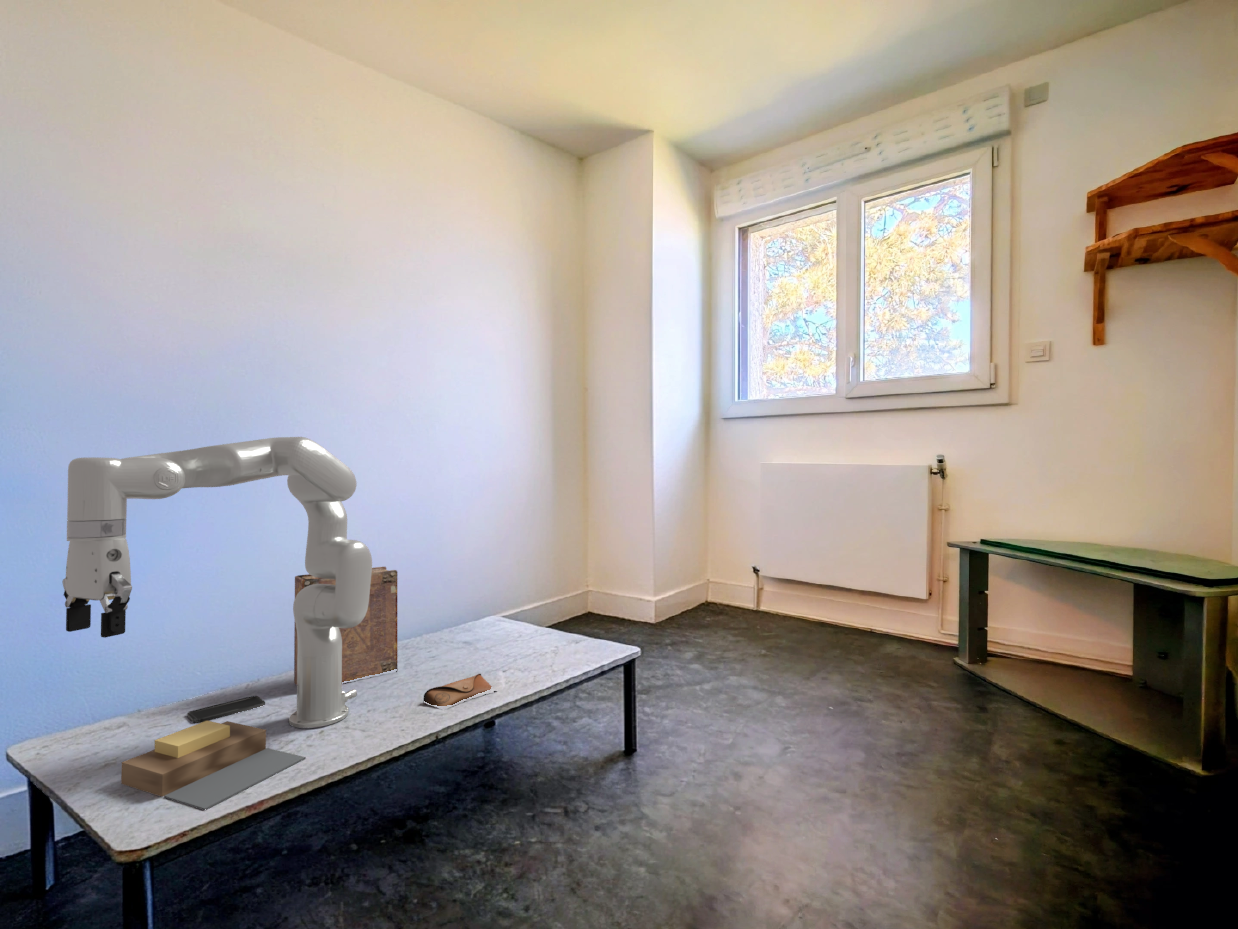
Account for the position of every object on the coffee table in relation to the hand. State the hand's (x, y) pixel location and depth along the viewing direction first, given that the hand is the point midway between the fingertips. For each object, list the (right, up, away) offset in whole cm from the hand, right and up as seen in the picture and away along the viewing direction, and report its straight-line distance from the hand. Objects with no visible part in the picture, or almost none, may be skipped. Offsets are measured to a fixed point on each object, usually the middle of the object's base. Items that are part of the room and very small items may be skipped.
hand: (95, 632), depth 99 cm
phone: (-8, -33, +46) cm, 57 cm away
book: (+10, -33, +69) cm, 77 cm away
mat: (+15, -32, +14) cm, 38 cm away
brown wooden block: (+4, -32, +18) cm, 37 cm away
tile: (+3, -28, +19) cm, 33 cm away
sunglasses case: (+47, -33, +55) cm, 79 cm away
